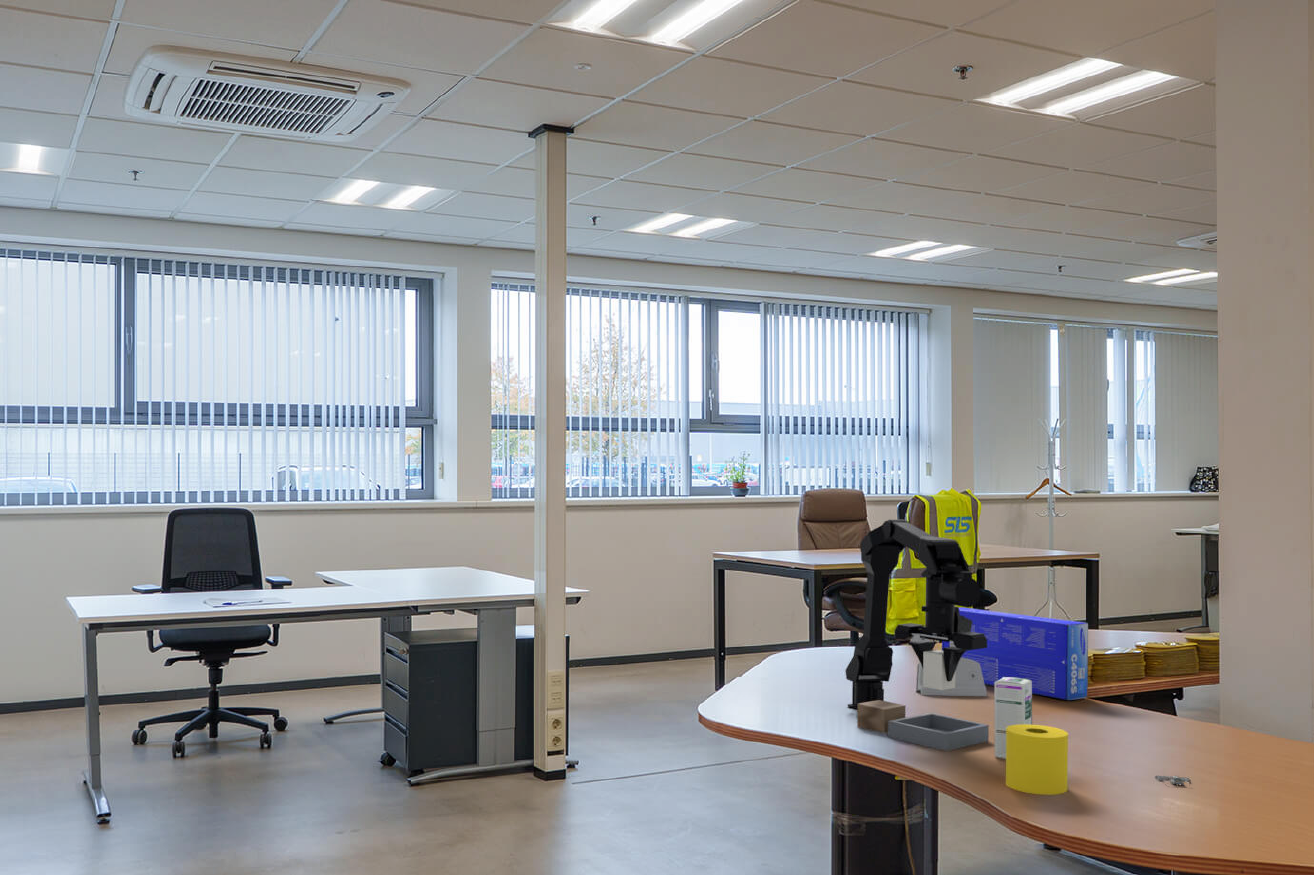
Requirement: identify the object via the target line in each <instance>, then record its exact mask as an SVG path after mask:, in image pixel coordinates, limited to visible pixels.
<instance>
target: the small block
mask: <svg viewBox="0 0 1314 875" xmlns="http://www.w3.org/2000/svg"><path fill="white" fill-rule="evenodd" d="M923 687H928V688H934V689H939V690H945V689H950V688H955V673H954V676H953V678H952V681H947V679H946V674H945V663H944V653H943V651H942V649H941V650H940V649H933V650H931V651H924V652H923Z"/></svg>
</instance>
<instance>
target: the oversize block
mask: <svg viewBox="0 0 1314 875" xmlns="http://www.w3.org/2000/svg"><path fill="white" fill-rule="evenodd" d="M856 716H857V721H856V722H857V723H856V724H857V728H861V729H865V730H869V731H874V732H878V733H882V734H887V733H888V721H891V720H896V719H902V718H906V705H904V704H900V703H895V702H890V701H886V700H884V701H882V700H876V701H870V702H865V703H859V704H858V709H857V715H856Z"/></svg>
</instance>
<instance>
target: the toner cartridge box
mask: <svg viewBox="0 0 1314 875" xmlns="http://www.w3.org/2000/svg"><path fill="white" fill-rule="evenodd" d="M959 614H960V615H961V616H964V617H966V618H968V619H970V620H971V621H973V623H972V627H971V632H976V633H983V634H984V635H985V637H986V638H987V648H982V649H975V650H968V651H966V652H965V653H964V654H963V655H962V657H963V658H967V659H970V660H973V661H976V662H978V663H979V664H980V666H981V671H982V675H983V680H984V684H985V686H990V687H993V686H994V682H995V681H998V680H1000V679H1002V678H1003V677H1014V678H1023V679H1029V680H1031V681H1032V695H1033V694H1034V695H1038V696H1039V695H1040V696H1044V697H1049V698H1054V699H1061V700H1064V701H1073V700H1074V701H1075V700H1080V699H1085V698H1087V697H1088V687H1089V683H1088V682H1089V681H1088V680H1089V679H1088V678H1089V674H1088V673H1089V623H1088V622H1084V621H1083V622H1082V621H1074V620H1067V619H1059V618H1058V619H1057V618H1052V617H1051V618H1050V617H1044V616H1043V617H1042V616H1036V615H1035V616H1034V615H1025V614H1019V613H1018V614H1017V613H1009V612H1001V611H992V610H986V609H985V610H984V609H978V608H971V607H959ZM949 644H950V642H944V641H941V650H942V651H943V648H946V647H949Z"/></svg>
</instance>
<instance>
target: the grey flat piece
mask: <svg viewBox="0 0 1314 875" xmlns="http://www.w3.org/2000/svg"><path fill="white" fill-rule="evenodd" d="M1154 778H1155V779H1156V781H1158V782H1162V781H1168V780H1170V781H1169V783H1170V782H1171V783H1172V784H1173V783H1174V784H1181V786H1182V785H1184V786H1185V782H1184V781H1187V782H1191V781H1192V780H1191V779H1190V778H1189V777H1181V776H1179V775H1174V776H1169V775H1168V776H1167V775H1166V776H1165V775H1155V776H1154ZM1171 783H1170V784H1171ZM1191 783H1192V782H1191ZM1172 784H1171V785H1172ZM1174 784H1173V785H1174Z"/></svg>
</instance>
